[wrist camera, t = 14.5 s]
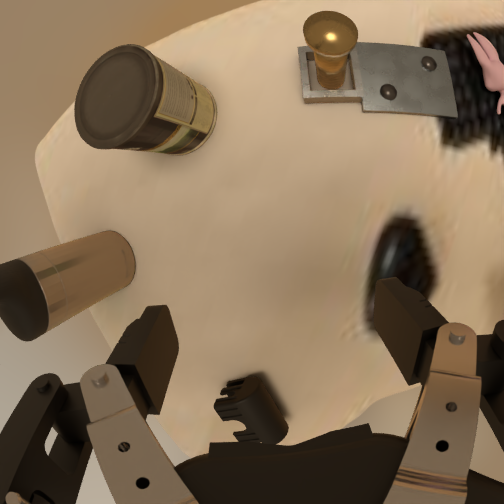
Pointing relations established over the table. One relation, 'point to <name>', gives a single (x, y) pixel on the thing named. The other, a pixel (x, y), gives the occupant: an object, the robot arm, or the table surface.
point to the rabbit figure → (489, 66)
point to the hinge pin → (330, 45)
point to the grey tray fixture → (390, 80)
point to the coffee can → (142, 105)
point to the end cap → (252, 411)
